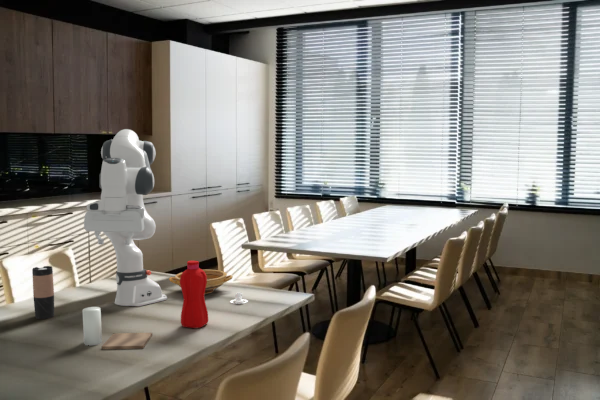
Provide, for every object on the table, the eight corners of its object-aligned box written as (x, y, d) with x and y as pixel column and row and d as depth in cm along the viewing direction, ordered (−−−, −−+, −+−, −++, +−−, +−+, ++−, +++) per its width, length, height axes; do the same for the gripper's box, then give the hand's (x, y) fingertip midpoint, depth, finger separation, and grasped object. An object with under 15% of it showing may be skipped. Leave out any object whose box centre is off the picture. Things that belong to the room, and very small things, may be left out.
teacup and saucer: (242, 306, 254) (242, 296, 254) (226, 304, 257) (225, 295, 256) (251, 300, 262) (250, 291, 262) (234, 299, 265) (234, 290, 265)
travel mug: (47, 319, 236) (44, 270, 234) (30, 318, 238) (27, 269, 236) (59, 314, 243) (56, 266, 242) (42, 313, 245) (39, 265, 243)
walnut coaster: (101, 349, 200) (101, 346, 200) (113, 336, 214) (113, 333, 214) (143, 348, 201) (143, 345, 201) (152, 335, 215) (152, 332, 215)
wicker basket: (166, 299, 265) (165, 281, 265) (172, 286, 290) (172, 270, 289) (232, 296, 268) (232, 279, 267) (233, 284, 292) (233, 268, 291)
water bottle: (213, 321, 231) (211, 258, 228) (199, 329, 220) (197, 263, 218) (192, 319, 234) (190, 257, 231) (177, 327, 223) (175, 262, 221)
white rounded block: (99, 338, 212) (97, 305, 211) (104, 343, 207) (102, 309, 206) (81, 342, 208) (80, 308, 207) (86, 346, 203) (85, 312, 202)
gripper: (146, 204, 208) (146, 243, 210) (88, 203, 209) (89, 242, 210) (141, 206, 202) (141, 246, 203) (81, 205, 202) (82, 245, 204)
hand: (114, 244), depth 207 cm, fingers open, 8 cm apart
